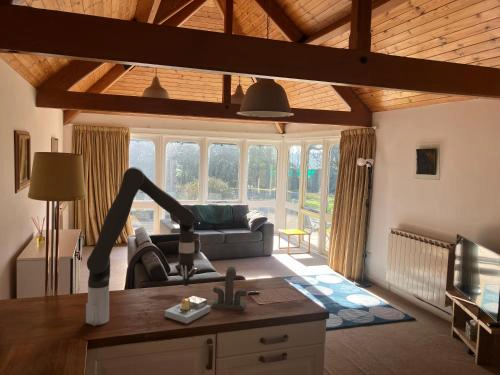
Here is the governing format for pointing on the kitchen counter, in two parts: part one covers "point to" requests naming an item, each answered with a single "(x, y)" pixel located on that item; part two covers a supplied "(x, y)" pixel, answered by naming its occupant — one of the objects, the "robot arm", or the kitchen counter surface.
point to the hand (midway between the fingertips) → (186, 285)
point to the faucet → (229, 293)
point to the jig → (186, 313)
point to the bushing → (185, 304)
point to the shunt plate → (197, 301)
